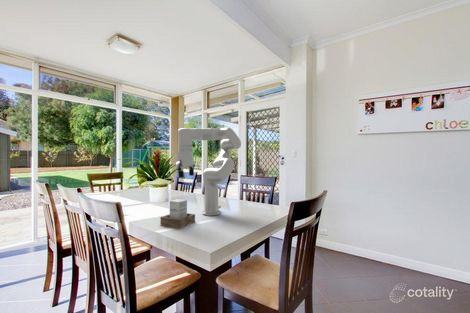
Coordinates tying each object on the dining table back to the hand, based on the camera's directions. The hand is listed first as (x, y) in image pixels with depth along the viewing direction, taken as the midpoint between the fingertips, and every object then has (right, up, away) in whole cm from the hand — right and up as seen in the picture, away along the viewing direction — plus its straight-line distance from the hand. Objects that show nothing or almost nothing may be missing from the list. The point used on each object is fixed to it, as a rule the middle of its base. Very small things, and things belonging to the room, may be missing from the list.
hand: (186, 176), depth 135 cm
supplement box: (-4, -27, -4) cm, 27 cm away
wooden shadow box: (-4, -27, -4) cm, 28 cm away
